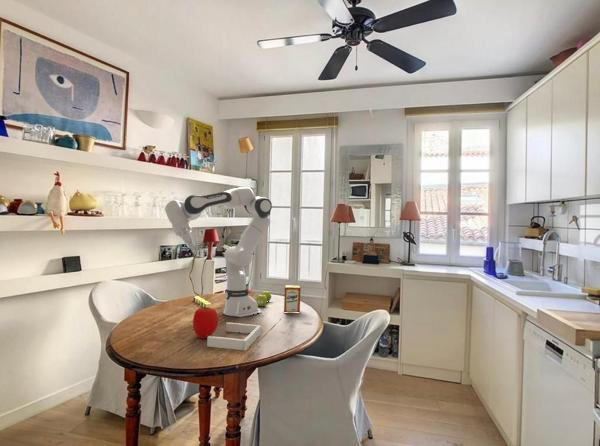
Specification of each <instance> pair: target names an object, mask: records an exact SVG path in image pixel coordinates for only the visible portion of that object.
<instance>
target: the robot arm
mask: <svg viewBox="0 0 600 446" xmlns="http://www.w3.org/2000/svg"><path fill="white" fill-rule="evenodd" d="M220 205H221V206H223V207H224V209H228V210H234V209H237V208H240V207H244V209H245V211H246V212H247V213H248V214H250V215H253V217H252V220H251V221H250V223H249V224H248V225H247V226H246V228H245V229H244V231H243V232H242V233H241V235H240V239H239V241H238V243H237V245H236V246H233V245H232V246H230V247H228V248H226V250H225V251H224V260H225V268H226V289H225V304H224V305H225V306H224V308H223V312H222V314H224V315H226V316H230V317H237V318H238V317H239V318H243V317H248V316H253V314H254V315H258V314H257V313H259V314H262V313H261V312H263V311H262V309H261V308H259V306H258V304H257V302H256V300H255V299H254V298H253V297H252V296H251V295H250V294H251V293H252V290H250V289H247V274H246V271H245V267H247V266H249V265H250V264H251V262H252V260H253V254H254V252H255V250H256V247H257V246H258V244H259V242H260V241H261V240H262V238H263V237H264V235H265V234H266V233H267V231H268V229H269V226H270V225H271V219H270V217H269V216H270V215H271V211H272V208H273V204H272V201H271V200H270V199H269V198H268V197H265V196H256V195H255V194H254V191H253V190H252V188H251V187H247V186H242V187H237V188H231V189H228V190H226V191H221V192H214V193H211V194H210V193H209V194H205V195H202V194H201V195H200V194H191V195H188V196H187V197H186V198H185V200H184V201H179V200H178V199H174V200H171V201H169V202H168V203H167V204H166V205H165V208H164V210H165V213H166V216H167V219H168V220H169V221H168V222H170V224H171V225H172V226H171V227H172V228H173V229H172V230H173V232H174V233H175V236H177V237H179V238H181V239H182V240H183V242H184V243H185V246H187V248H188V249H190V251H191V253H192V254H193V255H196V254H197V251H196V249H195V246H196V244H195V242H194V238H193V235H192V232H193V231H192V230H193V227H192V225H191V223H190V222H191V221H195V220H197V219H199V218H200V216H201V214H202V212H203V211H204V210H205V209H207V208H209V207H214V206H220Z"/></svg>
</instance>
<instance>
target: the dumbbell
mask: <svg viewBox="0 0 600 446" xmlns="http://www.w3.org/2000/svg"><path fill="white" fill-rule="evenodd" d="M271 299H272V294H271V292H270V291H267V290H265V291H262V292H261V294H258V295H257V296H256V298H255V299H254V300H256V302H257V304H258V307H259V306H264V307H265V305H266V304H267V303H268V302H267V301H269V302H270V300H271Z"/></svg>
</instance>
